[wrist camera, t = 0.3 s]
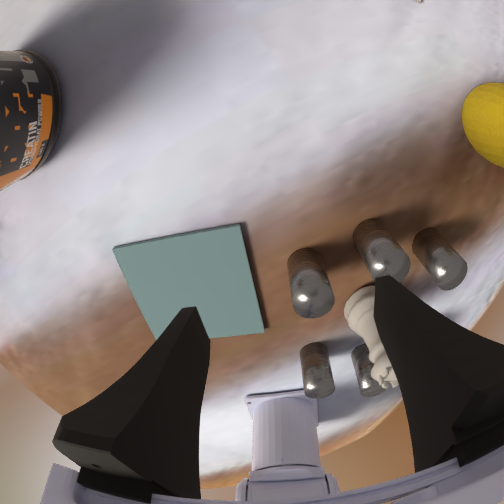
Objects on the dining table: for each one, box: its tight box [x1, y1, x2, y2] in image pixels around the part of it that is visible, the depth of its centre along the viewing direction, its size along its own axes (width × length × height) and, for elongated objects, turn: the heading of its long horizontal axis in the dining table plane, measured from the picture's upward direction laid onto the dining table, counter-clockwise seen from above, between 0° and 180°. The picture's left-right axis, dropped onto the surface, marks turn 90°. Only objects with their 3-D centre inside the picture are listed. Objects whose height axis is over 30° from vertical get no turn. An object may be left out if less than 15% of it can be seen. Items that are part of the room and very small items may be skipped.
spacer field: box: [287, 219, 467, 399], centre depth 22 cm, size 16×13×4 cm
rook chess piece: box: [344, 285, 399, 389], centre depth 20 cm, size 4×4×8 cm
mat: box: [112, 223, 265, 340], centre depth 23 cm, size 10×10×1 cm
